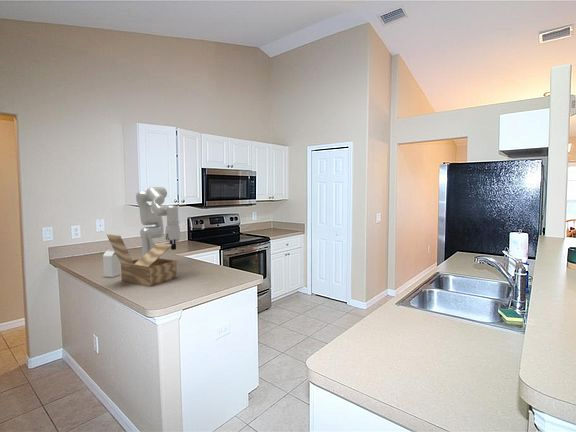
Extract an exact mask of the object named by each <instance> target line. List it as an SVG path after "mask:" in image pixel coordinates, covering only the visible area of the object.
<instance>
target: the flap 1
mask: <svg viewBox="0 0 576 432" xmlns="http://www.w3.org/2000/svg"><path fill="white" fill-rule="evenodd" d="M106 236H107V239H108V241H109V243H110V244H111V247H112V249H114V251H115V253H116V255H117V257H118V259H119V264H121V263H124V264H129V265H134V264H133V261H132V260H133V259H132V257H131V255H130V253H129V251H128V248H127V247H126V243H124V240H123V239H122V236H121V235H118V234H112V233H111V234H109V233H106Z"/></svg>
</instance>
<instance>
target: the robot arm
mask: <svg viewBox="0 0 576 432" xmlns="http://www.w3.org/2000/svg"><path fill="white" fill-rule="evenodd" d="M167 196H168V191H167V189H166V188H165V187H163V186H151V187H148V188H147V189H146V190H141V191H138V192H137V193H136V195H135V200H136V203H137V206H138V208H139V215H140V216H139V217H140V222H141V223H140V224H142V225H143V226H144V227H142V228H141V229H140V231H139V235H140V238H141V239H140V240H141V250H142V251H141V253H142V255H141V257H143V256H144V255H145V254H146V253H147V252H149V251H150V250H151V249H152V248H153V247H154V246H155V245H156V243H155V241H154V240H153V239H159V238H162V237H164V239H165V240H166V242H167V243H169V244H170V245H172V246H171V247H170V250H172V251H174V250H175V251H176V250H177V243H178V241H180V240H181V228H180V220H179V207H178V206H177V205H173V204H172V205H171V204H164V203H165V200H166V197H167ZM148 202H150V203H148ZM163 217H166V225H165V229H164V223H163V222H164V221H163Z"/></svg>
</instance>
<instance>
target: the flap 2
mask: <svg viewBox="0 0 576 432" xmlns="http://www.w3.org/2000/svg"><path fill="white" fill-rule="evenodd" d="M171 246H172V245H171V244H170V243H169V244H168V243H162V242H161V243H160V242H158V243H156V244H155V246H154V247H153V248H152V249H151V250H150V251H149V252H147V253H146V254H145V255H144V256H141V257H140V258H139V259H140V260H138V261H137V262H136V263H135V264H134V265H138V266H144V267H149V266H150V265H151V264H152V263H154V262H155V261H156V260H157V259H158V258H161V256H162V255H163V254H165V252H166V251H168V250H169V249H171Z"/></svg>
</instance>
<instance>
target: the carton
mask: <svg viewBox="0 0 576 432" xmlns="http://www.w3.org/2000/svg"><path fill="white" fill-rule="evenodd" d="M140 259H141V258H138V259H132V261H133V264H135V263H136V262H137V261H138V260H140ZM120 270H121V271H120V272H121V273H120V275H121V281H122V282H123V281H124V282H128V283H132V284H137V285H142V286H144V287H145V286H146V287H153V286H156V285H158V284H162V283H164V282H167V281H171V280H174V279H178V277H177V273H178V272H177V260H172V259H166V258H161V257H159V258H158V259H157V260H156V261H155V262H154V263H152V264H151V265H150V266H149V267H144V266H138V265H129V264H124V263H120Z"/></svg>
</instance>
